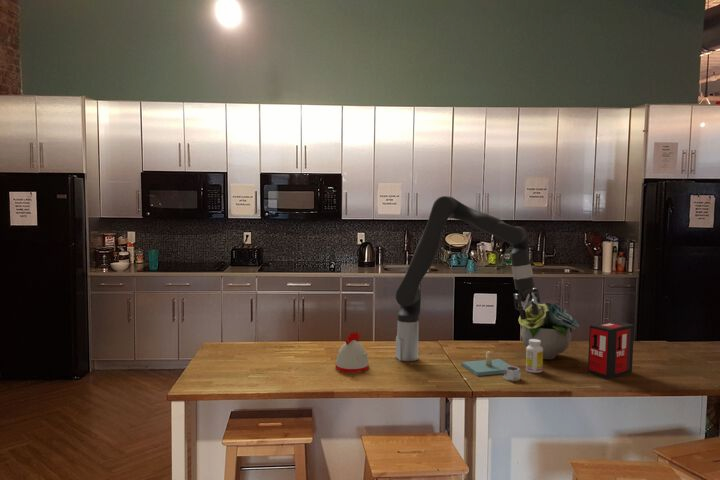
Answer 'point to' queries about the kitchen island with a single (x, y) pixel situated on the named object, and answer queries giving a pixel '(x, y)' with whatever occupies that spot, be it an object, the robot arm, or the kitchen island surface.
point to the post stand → (486, 366)
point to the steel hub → (511, 373)
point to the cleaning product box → (610, 349)
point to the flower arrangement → (548, 328)
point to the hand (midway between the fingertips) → (529, 317)
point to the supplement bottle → (534, 356)
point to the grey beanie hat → (352, 355)
